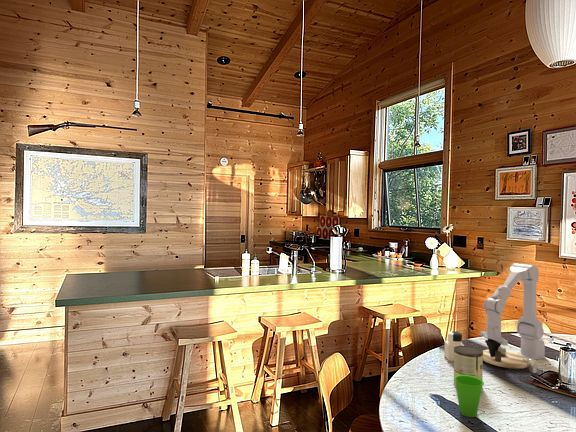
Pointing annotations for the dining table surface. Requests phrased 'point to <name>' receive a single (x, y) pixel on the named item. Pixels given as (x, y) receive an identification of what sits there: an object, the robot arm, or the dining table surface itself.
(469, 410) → the cup
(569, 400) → the dining table surface
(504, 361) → the platter
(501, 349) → the cover
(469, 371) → the coffee can
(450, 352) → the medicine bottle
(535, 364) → the silver knobbed piece
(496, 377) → the dining table surface
